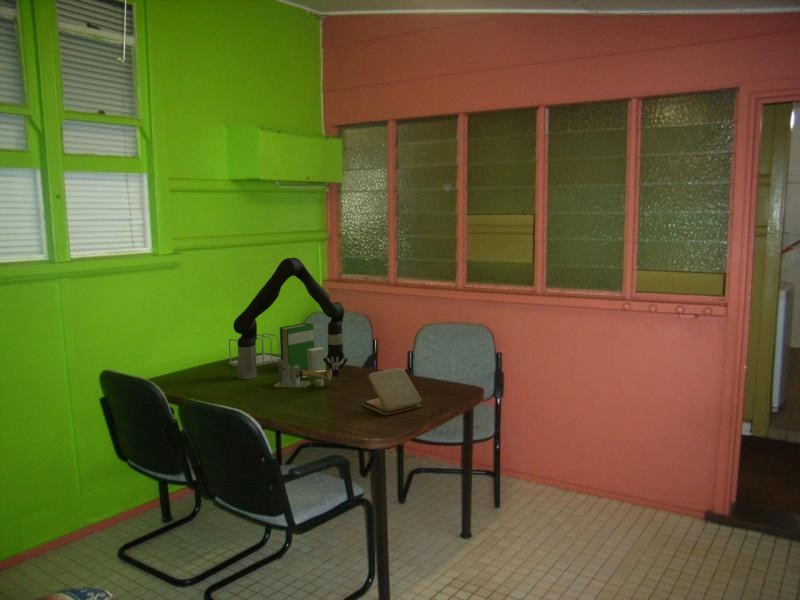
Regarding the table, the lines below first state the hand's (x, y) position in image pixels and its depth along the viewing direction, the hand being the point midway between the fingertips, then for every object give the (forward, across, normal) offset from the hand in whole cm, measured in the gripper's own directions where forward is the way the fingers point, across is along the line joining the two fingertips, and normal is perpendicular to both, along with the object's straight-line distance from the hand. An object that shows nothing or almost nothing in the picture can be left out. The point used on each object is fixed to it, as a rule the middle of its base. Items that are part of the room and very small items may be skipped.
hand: (336, 376), depth 325 cm
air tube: (+2, -13, 0) cm, 13 cm away
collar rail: (+5, -19, 0) cm, 20 cm away
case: (+5, +32, -31) cm, 45 cm away
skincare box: (+5, -15, +19) cm, 24 cm away
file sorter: (+6, -58, +45) cm, 74 cm away
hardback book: (+5, -30, +35) cm, 46 cm away
